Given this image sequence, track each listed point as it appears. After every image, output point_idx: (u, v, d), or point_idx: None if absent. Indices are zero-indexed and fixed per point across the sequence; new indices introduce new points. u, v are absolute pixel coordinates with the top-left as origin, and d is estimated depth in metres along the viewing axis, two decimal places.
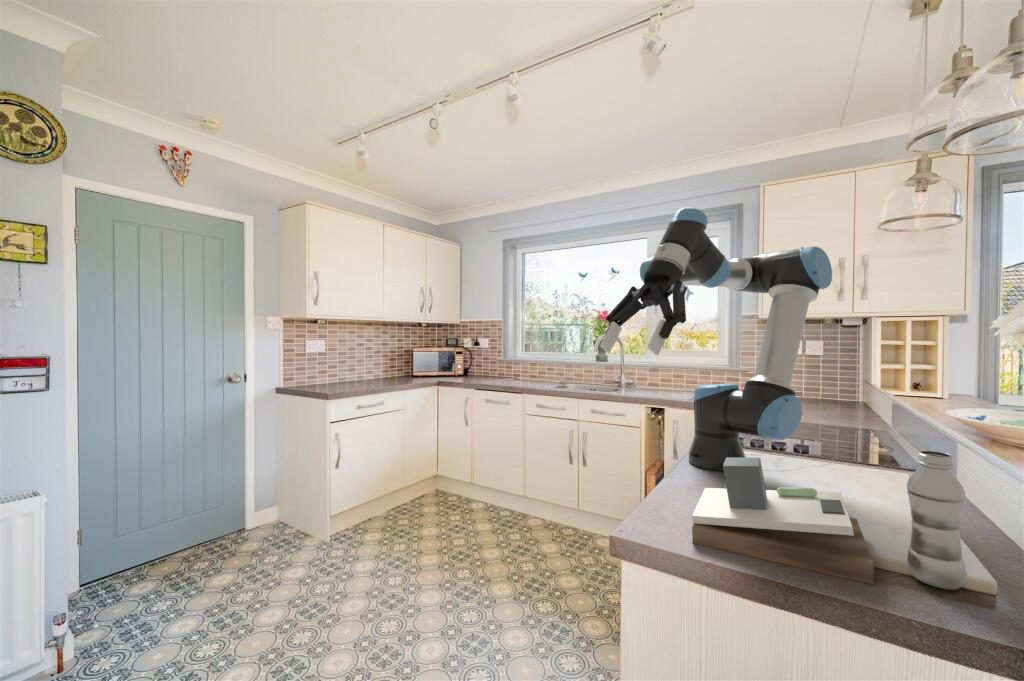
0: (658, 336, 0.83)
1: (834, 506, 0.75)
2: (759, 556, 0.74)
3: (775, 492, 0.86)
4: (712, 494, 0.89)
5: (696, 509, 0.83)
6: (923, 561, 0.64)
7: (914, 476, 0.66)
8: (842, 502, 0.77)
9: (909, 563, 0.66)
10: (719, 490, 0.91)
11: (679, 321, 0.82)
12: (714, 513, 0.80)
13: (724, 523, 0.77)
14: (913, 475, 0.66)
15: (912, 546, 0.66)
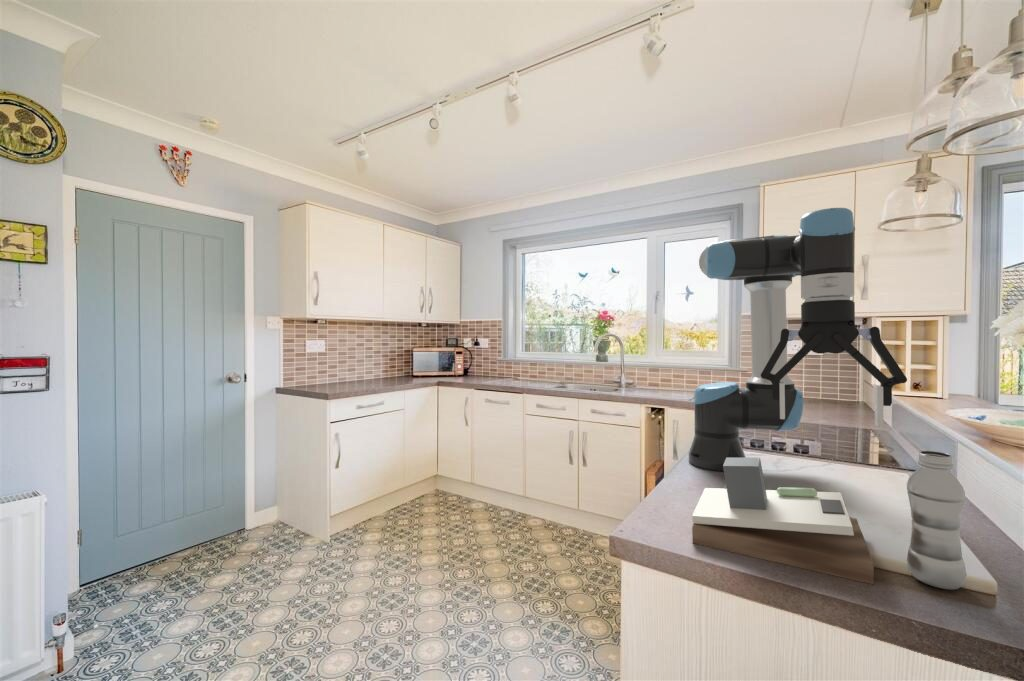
0: (882, 407, 0.70)
1: (834, 506, 0.75)
2: (759, 556, 0.74)
3: (775, 492, 0.86)
4: (712, 494, 0.89)
5: (696, 509, 0.83)
6: (923, 561, 0.64)
7: (914, 476, 0.66)
8: (842, 502, 0.77)
9: (909, 563, 0.66)
10: (719, 490, 0.91)
11: None
12: (714, 513, 0.80)
13: (724, 523, 0.77)
14: (913, 475, 0.66)
15: (912, 546, 0.66)
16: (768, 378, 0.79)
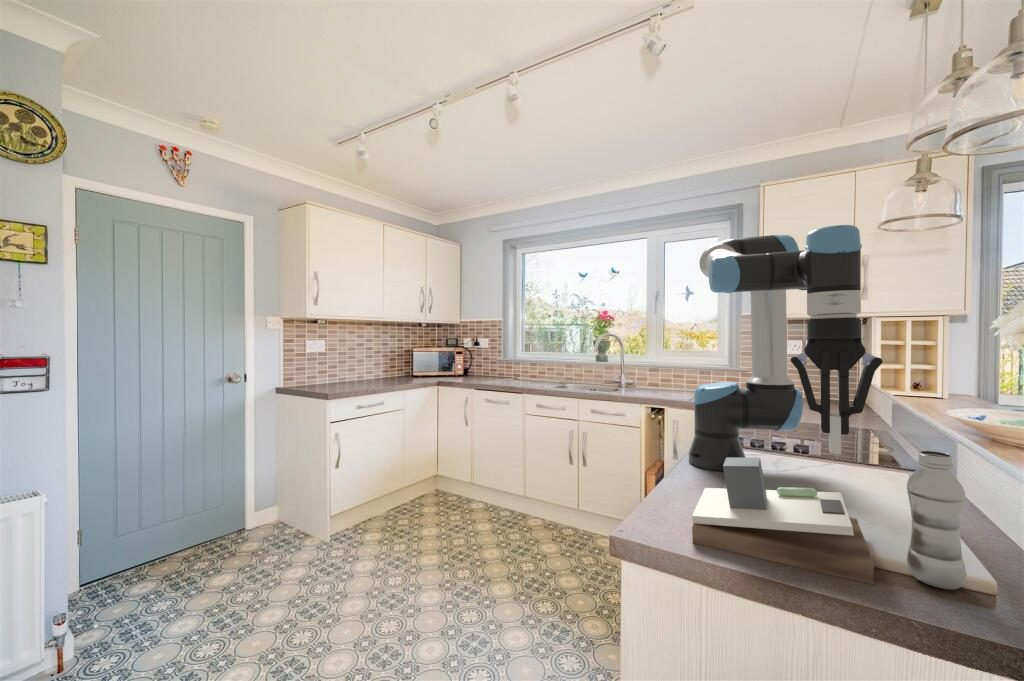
0: (840, 436, 0.74)
1: (834, 506, 0.75)
2: (759, 556, 0.74)
3: (775, 492, 0.86)
4: (712, 494, 0.89)
5: (696, 509, 0.83)
6: (923, 561, 0.64)
7: (914, 476, 0.66)
8: (842, 502, 0.77)
9: (909, 563, 0.66)
10: (719, 490, 0.91)
11: None
12: (714, 513, 0.80)
13: (724, 523, 0.77)
14: (913, 475, 0.66)
15: (912, 546, 0.66)
16: (817, 410, 0.75)
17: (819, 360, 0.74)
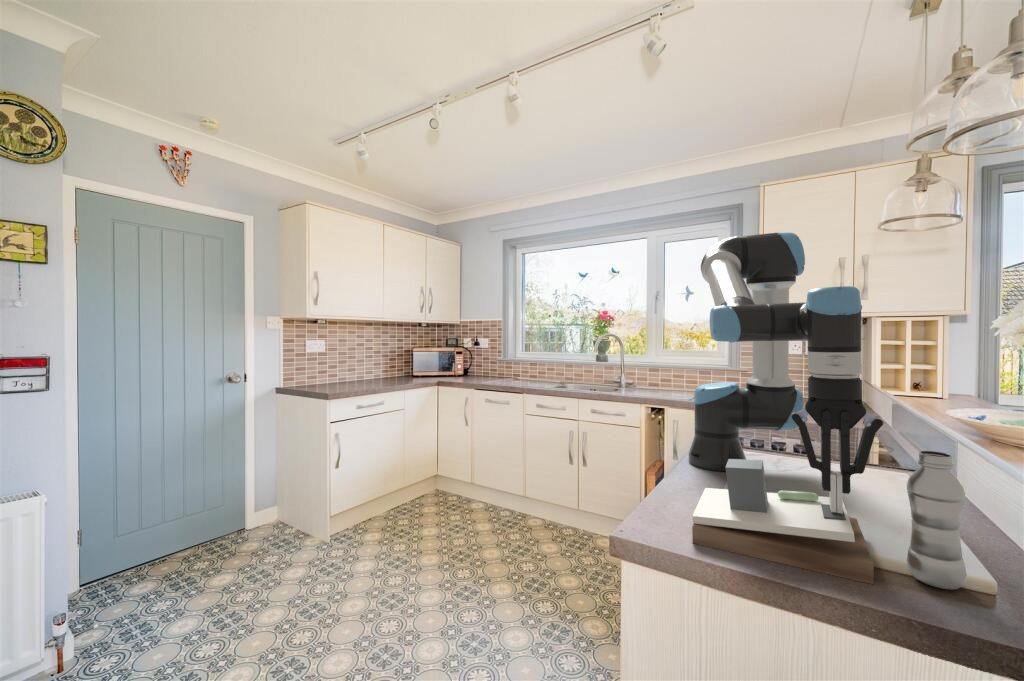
0: (841, 494, 0.74)
1: None
2: (759, 556, 0.74)
3: (776, 495, 0.85)
4: (712, 494, 0.89)
5: (696, 509, 0.83)
6: (923, 561, 0.64)
7: (914, 476, 0.66)
8: (843, 508, 0.77)
9: (909, 563, 0.66)
10: (720, 490, 0.91)
11: None
12: (715, 514, 0.80)
13: (724, 524, 0.77)
14: (913, 475, 0.66)
15: (912, 546, 0.66)
16: (818, 467, 0.76)
17: (820, 418, 0.75)
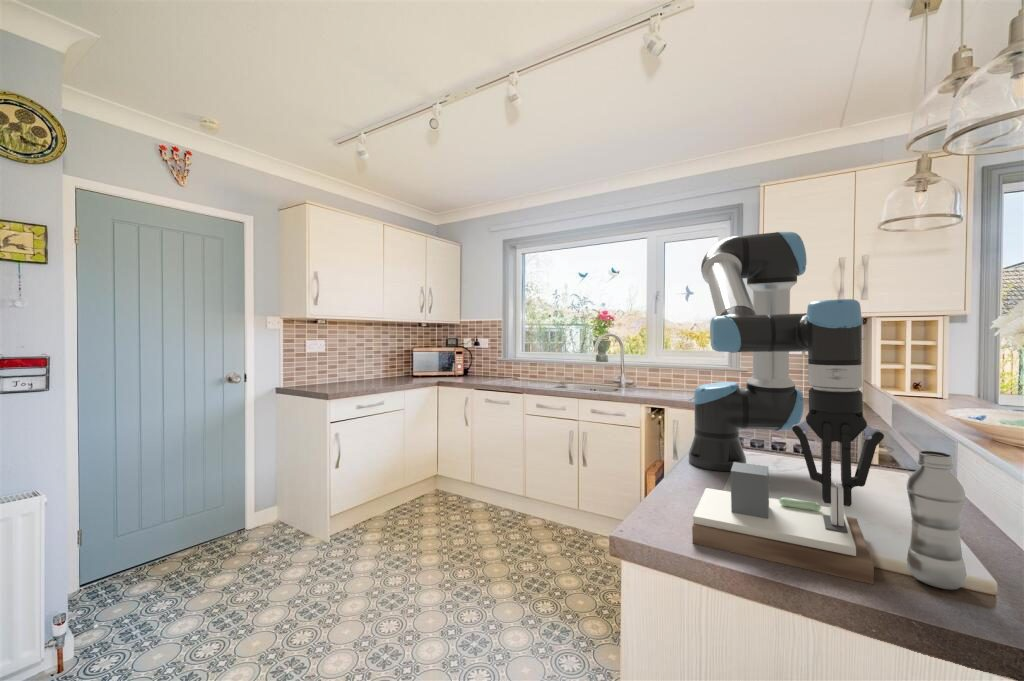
0: None
1: (837, 524, 0.75)
2: (759, 556, 0.74)
3: (777, 501, 0.85)
4: (713, 495, 0.89)
5: (697, 509, 0.83)
6: (923, 561, 0.64)
7: (914, 476, 0.66)
8: (845, 520, 0.76)
9: (909, 563, 0.66)
10: (720, 492, 0.91)
11: None
12: (715, 515, 0.80)
13: (725, 527, 0.77)
14: (913, 475, 0.66)
15: (912, 546, 0.66)
16: (818, 480, 0.76)
17: (821, 431, 0.75)
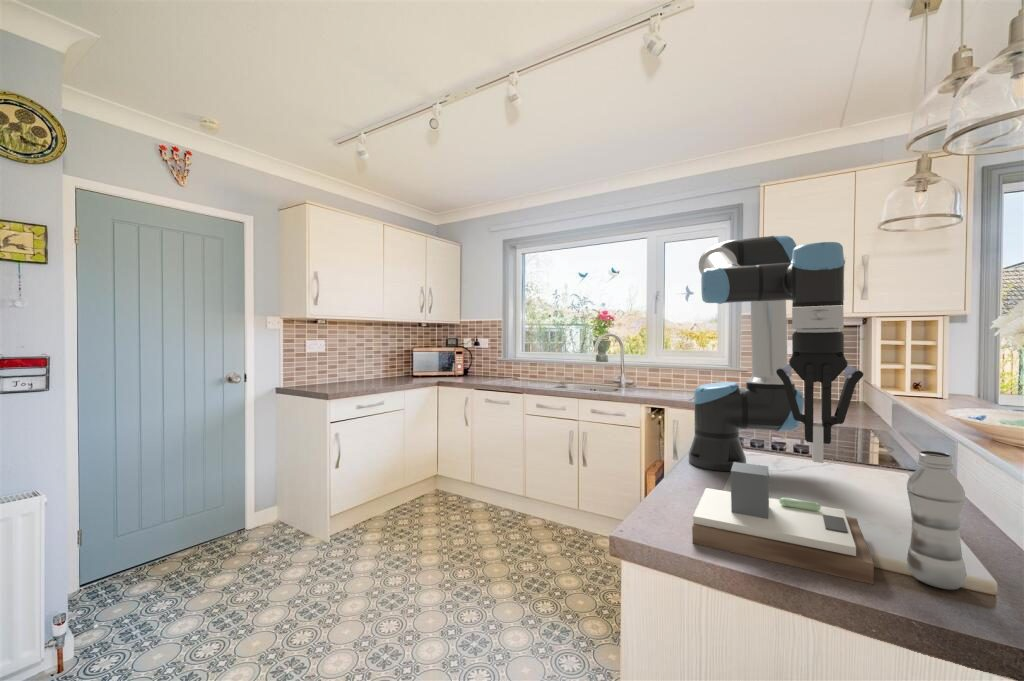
0: (822, 445, 0.77)
1: (837, 524, 0.75)
2: (759, 556, 0.74)
3: (777, 501, 0.85)
4: (713, 495, 0.89)
5: (697, 509, 0.83)
6: (923, 561, 0.64)
7: (914, 476, 0.66)
8: (845, 520, 0.76)
9: (909, 563, 0.66)
10: (720, 492, 0.91)
11: None
12: (715, 515, 0.80)
13: (725, 527, 0.77)
14: (913, 475, 0.66)
15: (912, 546, 0.66)
16: (801, 420, 0.78)
17: (803, 372, 0.77)
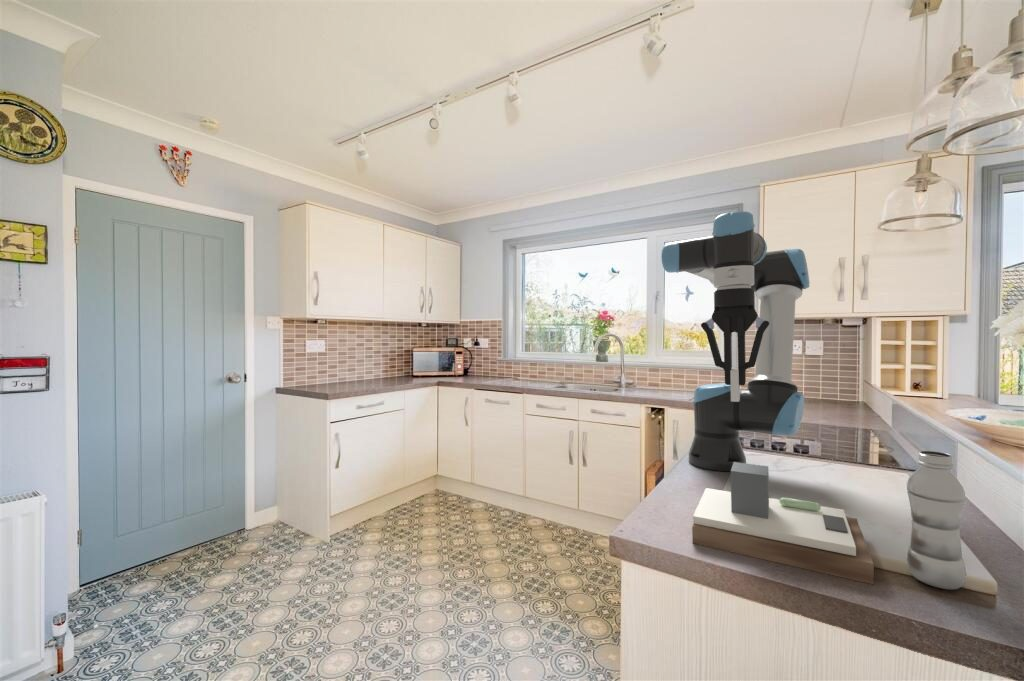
0: (738, 386, 0.89)
1: (837, 524, 0.75)
2: (759, 556, 0.74)
3: (777, 501, 0.85)
4: (713, 495, 0.89)
5: (697, 509, 0.83)
6: (923, 561, 0.64)
7: (914, 476, 0.66)
8: (845, 520, 0.76)
9: (909, 563, 0.66)
10: (720, 492, 0.91)
11: None
12: (715, 515, 0.80)
13: (725, 527, 0.77)
14: (913, 475, 0.66)
15: (912, 546, 0.66)
16: (721, 366, 0.91)
17: (722, 324, 0.90)
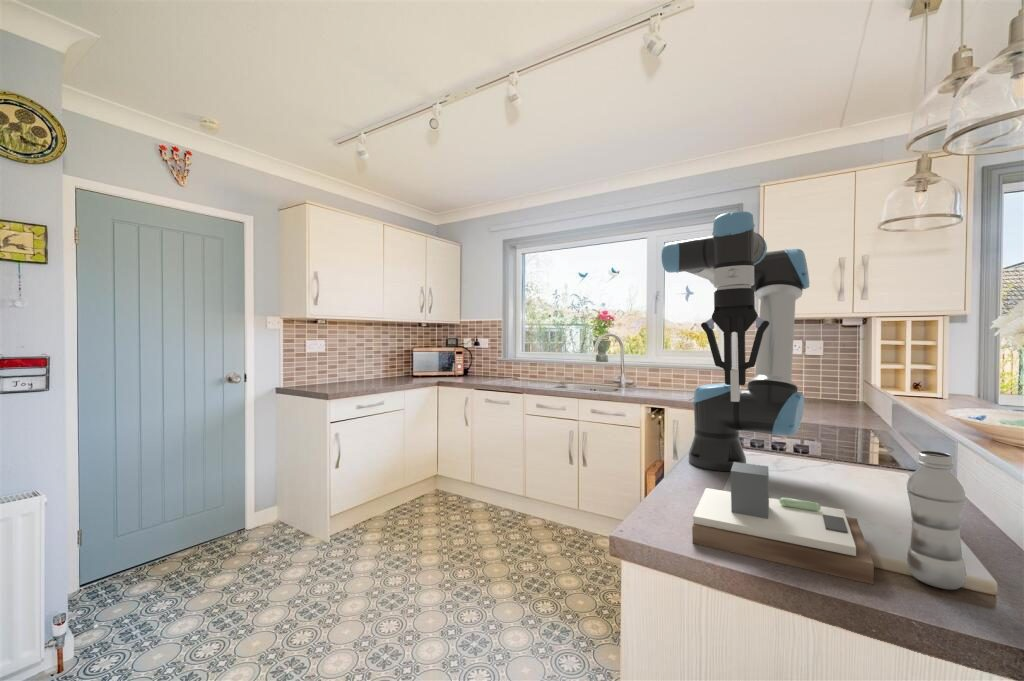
0: (738, 386, 0.89)
1: (837, 524, 0.75)
2: (759, 556, 0.74)
3: (777, 501, 0.85)
4: (713, 495, 0.89)
5: (697, 509, 0.83)
6: (923, 561, 0.64)
7: (914, 476, 0.66)
8: (845, 520, 0.76)
9: (909, 563, 0.66)
10: (720, 492, 0.91)
11: None
12: (715, 515, 0.80)
13: (725, 527, 0.77)
14: (913, 475, 0.66)
15: (912, 546, 0.66)
16: (721, 366, 0.91)
17: (722, 324, 0.90)
